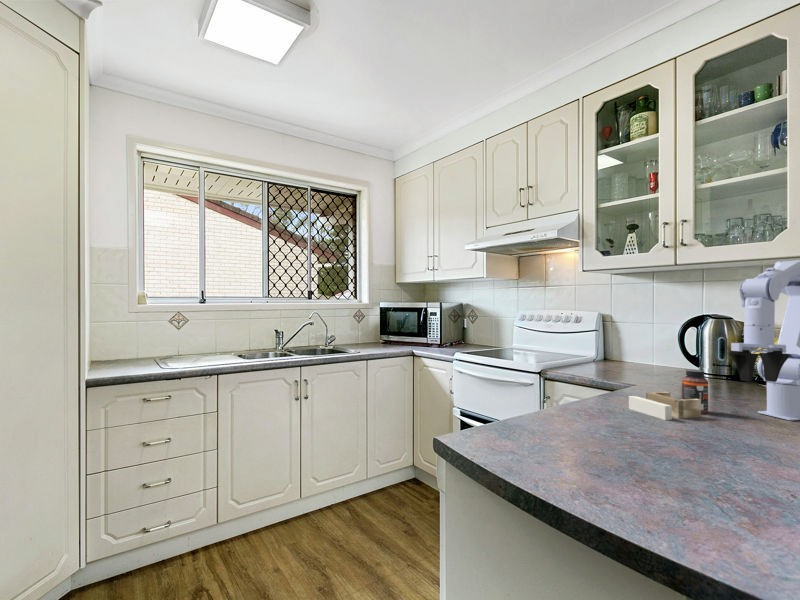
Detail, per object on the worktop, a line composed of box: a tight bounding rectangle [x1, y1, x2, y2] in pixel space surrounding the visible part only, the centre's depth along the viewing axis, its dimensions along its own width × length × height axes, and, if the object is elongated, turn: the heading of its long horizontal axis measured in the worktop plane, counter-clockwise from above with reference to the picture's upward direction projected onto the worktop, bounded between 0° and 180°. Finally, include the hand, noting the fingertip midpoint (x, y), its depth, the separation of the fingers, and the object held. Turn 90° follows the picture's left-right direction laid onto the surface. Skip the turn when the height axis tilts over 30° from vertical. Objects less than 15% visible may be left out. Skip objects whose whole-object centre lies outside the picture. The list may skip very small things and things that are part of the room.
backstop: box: [628, 395, 673, 421], centre depth 110 cm, size 2×12×4 cm, turn 13°
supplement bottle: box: [681, 369, 709, 415], centre depth 113 cm, size 6×6×11 cm
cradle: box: [645, 391, 702, 419], centre depth 111 cm, size 7×10×4 cm
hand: (758, 381), depth 101 cm, fingers open, 7 cm apart
